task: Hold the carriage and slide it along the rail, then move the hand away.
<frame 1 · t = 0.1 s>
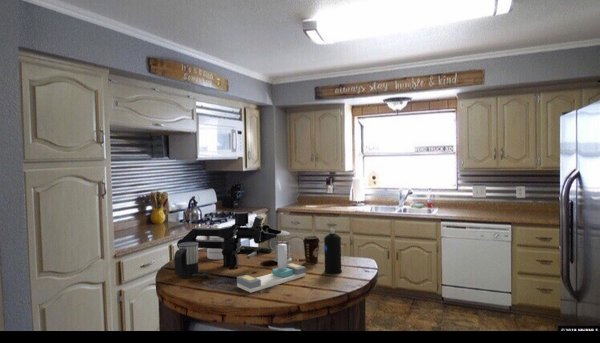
hand: (278, 233, 178), 17 cm above the kitchen island, tool horizontal, fingers open, 9 cm apart
milk frother: (194, 277, 166), on the kitchen island
carriage: (282, 259, 162), point 8 cm above the kitchen island, slide at 12.0 cm
french press: (281, 259, 193), on the kitchen island
white jug: (219, 256, 202), on the kitchen island
rail: (260, 284, 154), on the kitchen island
coffee cup: (311, 263, 186), on the kitchen island
door handle: (250, 255, 206), on the kitchen island
aerosol can: (333, 272, 170), on the kitchen island
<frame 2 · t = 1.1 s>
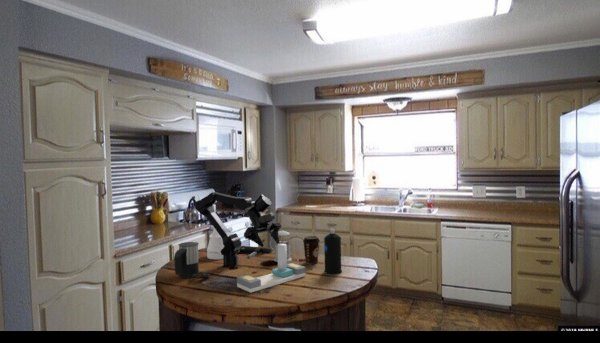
hand: (271, 244, 168), 14 cm above the kitchen island, tool tilted 45°, fingers open, 9 cm apart
nothing on the kitchen island moved.
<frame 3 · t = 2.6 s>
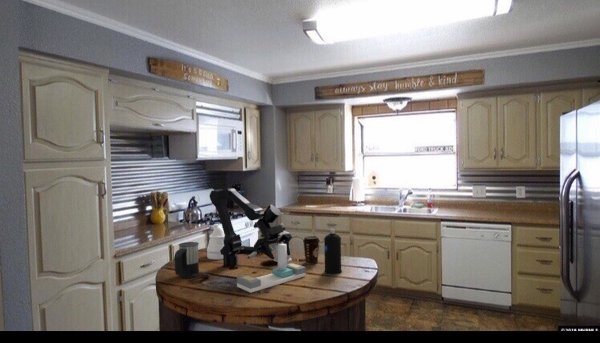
hand: (281, 257, 162), 9 cm above the kitchen island, tool tilted 45°, fingers open, 9 cm apart
nothing on the kitchen island moved.
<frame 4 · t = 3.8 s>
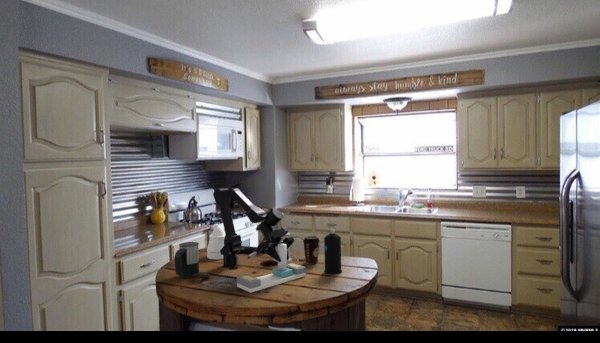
hand: (284, 260, 161), 8 cm above the kitchen island, tool tilted 45°, fingers closed on carriage, 4 cm apart
carriage: (282, 259, 162), point 8 cm above the kitchen island, slide at 12.0 cm, touching gripper
everything else where it was.
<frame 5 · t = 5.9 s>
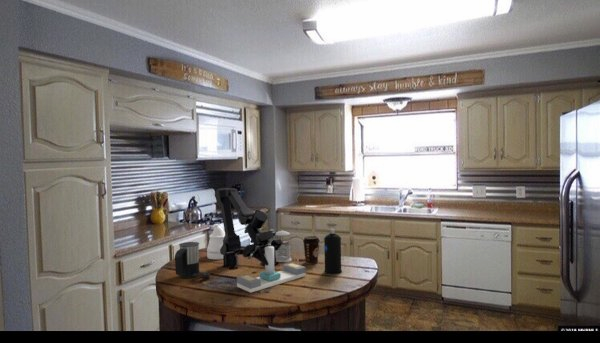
hand: (271, 263, 156), 8 cm above the kitchen island, tool tilted 45°, fingers closed on carriage, 4 cm apart
carriage: (269, 262, 157), point 8 cm above the kitchen island, slide at 5.0 cm, touching gripper
everything else where it was.
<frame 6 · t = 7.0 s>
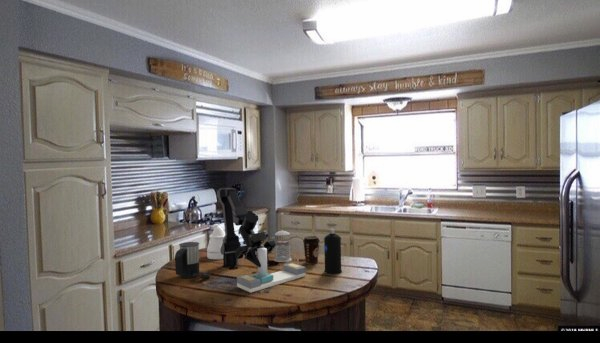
hand: (264, 265, 153), 8 cm above the kitchen island, tool tilted 45°, fingers closed on carriage, 4 cm apart
carriage: (262, 264, 155), point 8 cm above the kitchen island, slide at 1.1 cm, touching gripper
everything else where it was.
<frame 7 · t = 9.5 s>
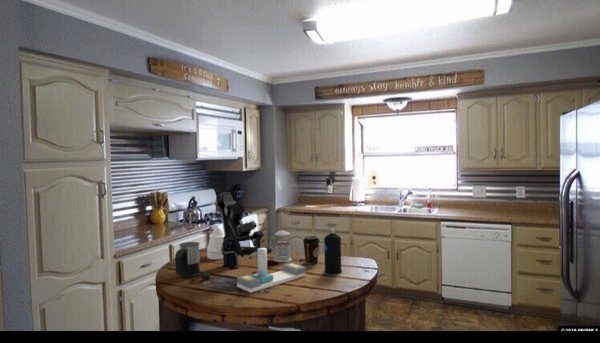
hand: (252, 254, 160), 11 cm above the kitchen island, tool tilted 45°, fingers open, 9 cm apart
carriage: (262, 264, 154), point 8 cm above the kitchen island, slide at 1.1 cm
everything else where it was.
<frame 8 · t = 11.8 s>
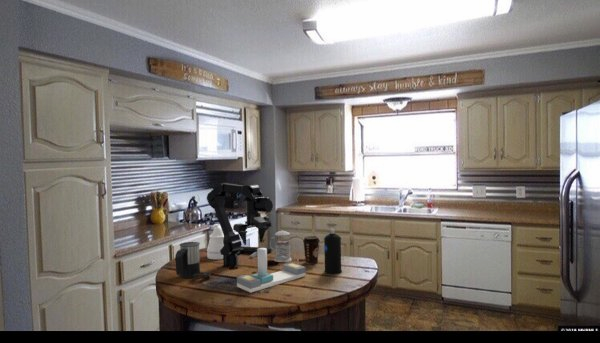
hand: (253, 243, 175), 13 cm above the kitchen island, tool pointing down, fingers open, 9 cm apart
at the end: carriage slide at 1.1 cm; the gripper is holding nothing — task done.
